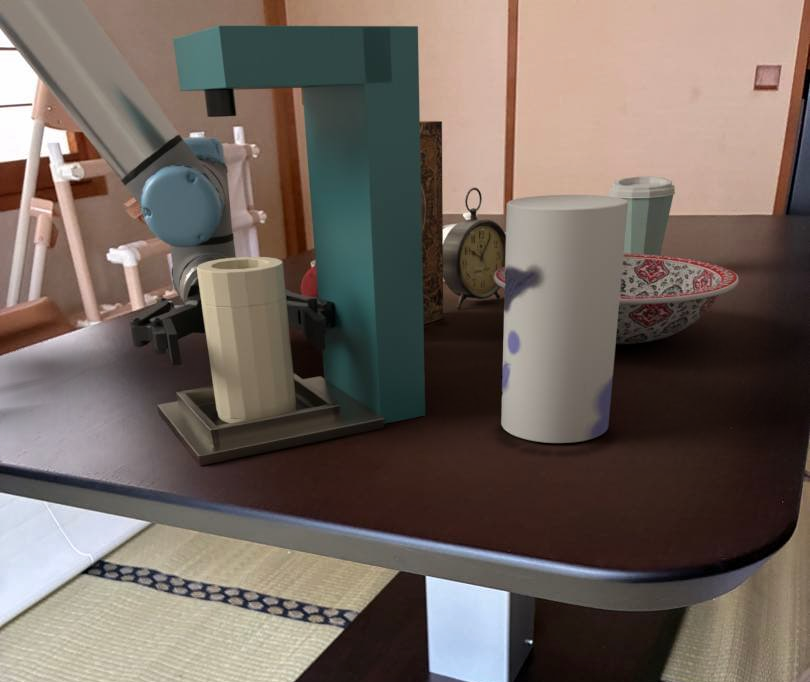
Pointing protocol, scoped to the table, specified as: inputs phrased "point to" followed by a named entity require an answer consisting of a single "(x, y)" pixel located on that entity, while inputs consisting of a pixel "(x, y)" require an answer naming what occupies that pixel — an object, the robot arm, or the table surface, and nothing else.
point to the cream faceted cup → (247, 337)
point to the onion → (310, 283)
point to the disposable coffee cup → (645, 212)
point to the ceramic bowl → (662, 294)
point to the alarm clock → (473, 256)
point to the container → (561, 315)
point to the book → (432, 219)
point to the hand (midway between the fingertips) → (249, 342)
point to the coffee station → (332, 224)
